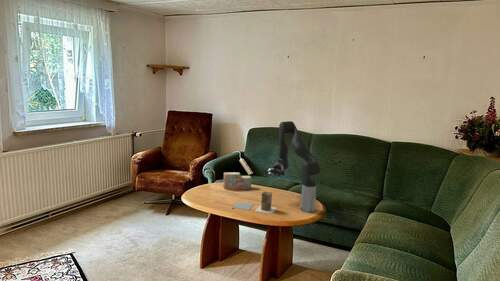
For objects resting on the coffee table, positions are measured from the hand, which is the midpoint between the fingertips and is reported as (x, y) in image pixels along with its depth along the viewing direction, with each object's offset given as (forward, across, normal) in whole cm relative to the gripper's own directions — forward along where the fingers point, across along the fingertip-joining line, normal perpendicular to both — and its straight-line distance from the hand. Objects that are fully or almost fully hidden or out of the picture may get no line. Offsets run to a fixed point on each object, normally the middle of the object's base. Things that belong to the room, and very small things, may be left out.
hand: (272, 174), depth 256 cm
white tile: (+15, 0, +21) cm, 26 cm away
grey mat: (+15, -16, +21) cm, 30 cm away
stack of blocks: (-26, -34, +22) cm, 48 cm away
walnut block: (+15, 0, +20) cm, 25 cm away
